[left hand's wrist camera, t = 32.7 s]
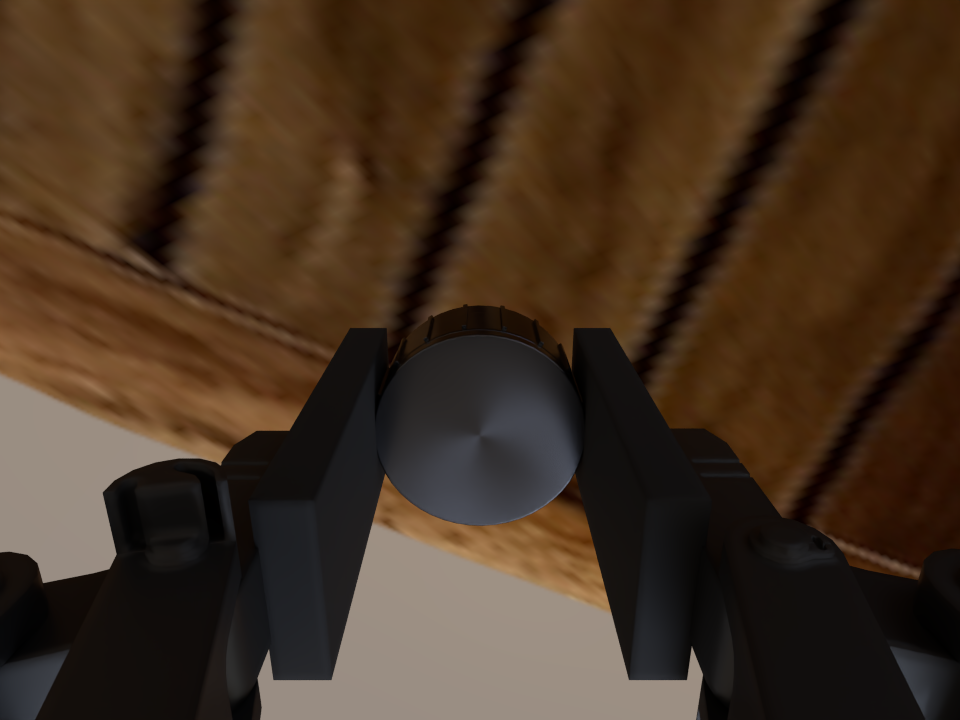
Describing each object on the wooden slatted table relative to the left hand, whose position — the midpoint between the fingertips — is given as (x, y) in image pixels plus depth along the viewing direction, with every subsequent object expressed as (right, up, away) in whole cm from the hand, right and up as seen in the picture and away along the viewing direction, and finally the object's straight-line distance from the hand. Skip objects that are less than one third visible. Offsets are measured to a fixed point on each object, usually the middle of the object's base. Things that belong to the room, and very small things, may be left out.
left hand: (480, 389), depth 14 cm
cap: (0, -1, -2) cm, 2 cm away
